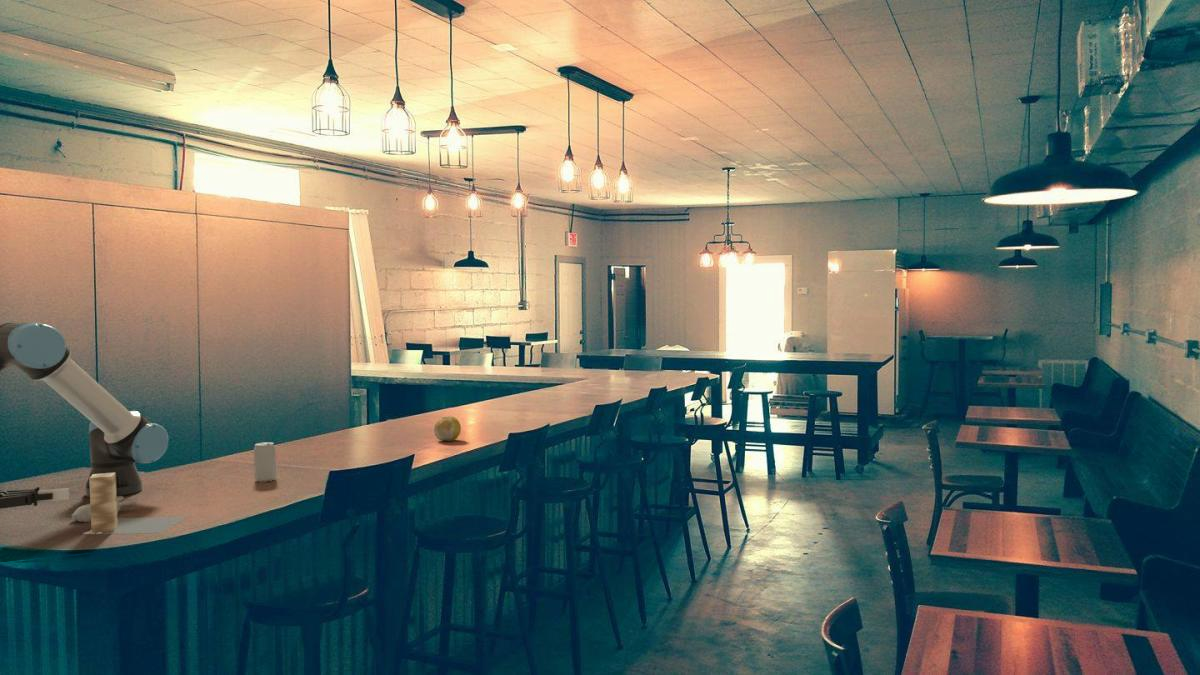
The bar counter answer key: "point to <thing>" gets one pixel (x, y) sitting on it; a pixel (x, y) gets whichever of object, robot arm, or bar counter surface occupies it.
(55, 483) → the bar counter surface
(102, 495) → the maple block
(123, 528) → the rubber mat
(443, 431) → the fruit
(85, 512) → the bunny figurine
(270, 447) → the beverage can
